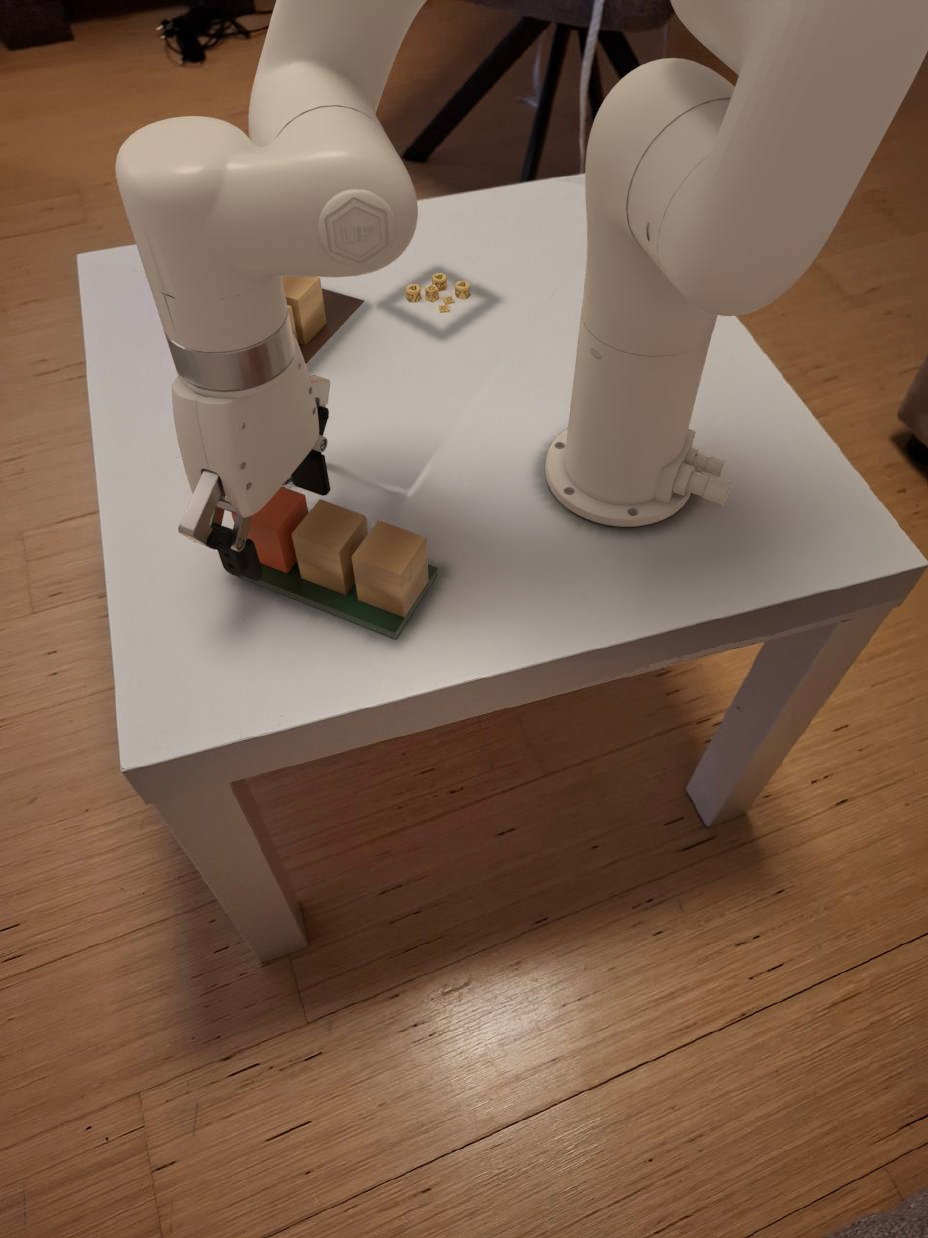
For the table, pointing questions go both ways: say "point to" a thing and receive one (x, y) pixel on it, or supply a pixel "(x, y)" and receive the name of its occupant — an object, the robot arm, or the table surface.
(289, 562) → the orange upright block
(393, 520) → the table surface
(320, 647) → the table surface
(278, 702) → the table surface
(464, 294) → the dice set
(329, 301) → the far board with cubes
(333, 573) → the green board with cubes
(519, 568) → the table surface
